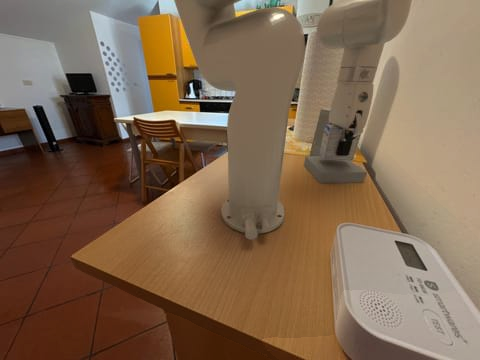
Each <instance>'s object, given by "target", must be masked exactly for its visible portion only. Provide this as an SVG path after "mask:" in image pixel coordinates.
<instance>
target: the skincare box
mask: <svg viewBox="0 0 480 360" xmlns="http://www.w3.org/2000/svg"><path fill="white" fill-rule="evenodd" d="M330 109H331V107H329V108H325V107H322V108H321V109H320V111H319V115H318V116H319V117H318V118H317V119H318V120H317V124H316V127H315V131H314V134H313V139H312V142H311V147H310V150H309V156H320V148H321V144H322V139H323V134H324V129H325V125H329V121H328V119H329V114H330Z"/></svg>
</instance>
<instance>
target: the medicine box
mask: <svg viewBox="0 0 480 360" xmlns="http://www.w3.org/2000/svg"><path fill="white" fill-rule="evenodd" d="M349 128H352V126H349ZM349 132H351V131H347V134H348V133H349ZM361 135H362V133H361V134H360V135H358V136H357V137H356V138H355V140H354V141H353V142H352V145H351V149H350V152H349V155H348V156H337V155H336V152H337V148H338V144H339V140H341V138H342V128H340V127H338V126H336V125H325V129H324V134H323V139H322V144H321V148H320V156H321V157H322V159H323V160H350V161H351V162H353V161H354V159H355V156H356V151H357V148H358V146H359V141H360V140H361V139H360V138H361Z"/></svg>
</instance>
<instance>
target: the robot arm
mask: <svg viewBox="0 0 480 360" xmlns="http://www.w3.org/2000/svg"><path fill="white" fill-rule="evenodd" d="M173 1H174V3H175V4H174V5H175V7H176V10H177V13H178V16H179V19H180V21H181V25H182V27H183V31H184V33H185V35H186V39H187V41H188V45H189V47H190V50H191V53H192V57H193V58H194V61H195V64H196V66H197V69H198V70H199V72H200V74H201V75H202V78H203V79H204V80H205V81H206V82H207V83H208V84H209V85H210V86H211V87H213V88H215V89H217V90H219V91H220V90H221V91H225V92H234V96H233V98H232V100H231V101H232V102H231V103H230V108H229V111H228V116H227V126H226V131H227V132H226V133H227V134H226V135H227V171H228V172H227V176H228V177H227V178H228V181H227V182H228V198H226V199H225V200H224V201H223V203H222V204H221V209H220V211H221V212H220V213H221V218H222V219H223V222H224V223H225V224H226V225H227V226H228V227H229V228H231V229H233V230H236V231H237V232H240V233H244V234H245V235H244V236H245V238H246V239H248V240H255V239H256V238H258V235H259V234H265V233H270V232H271V231H274V230H275V229H277V228H278V227H280V225H282V223H283V222H284V220H285V213H286V212H285V208H284V206H283V204H282V202H280V200H279V196H280V195H279V194H280V187H281V180H282V170H283V162H284V155H285V147H286V146H285V145H286V141H287V140H286V139H287V138H286V137H287V131H288V130H287V129H288V122H289V116H290V112H291V111H290V110H291V106H292V105H291V104H292V101H293V97H294V93H295V90H296V87H297V86H296V85H297V83H298V79H299V76H300V75H301V74H300V73H301V70H302V65H303V62H304V57H305V50H306V39H305V33H304V29H303V27H302V25H301V22H300V20H299V19H298V18H297V17H296V16H295V14H293V13H292V12H290V11H289V10H286V9H284V8H279V7H264V8H258V9H255V10H252V11H249V12H247V13H246V12H245V13H244V14H241V15H238V16H237V15H236V9H235V4H237V3H238V2H241V1H242V0H173ZM412 1H413V0H340V1H337V2H334V3H332V4H330V5H329V6H328V7H326V9H324V10H323V12H322V14H321V15H320V17H319V19H318V22H317V27H316V34H317V39H318V42H319V43H320V45H321V46H323V47H324V48H326V49H329V50H338V49H339V50H341V49H343V53H342V57H341V62H340V65H339V71H338V76H337V80H336V84H337V85H336V89H335V91H334V95H333V98H332V102H331V106H330V108H331V109H330V114H329V119H328V121H329V125H336V126H338V127H340V128H342V138H341V140H339V144H338V148H337V152H336V155H337V156H348V155H349V152H350V149H351V145H352V142H353V141H354V140H355V138H356V137H357V136H358V135H360V134H361V135H362V134H363V133H364V129H365V127H366V126H367V123H368V122H367V121H368V118H369V114H370V110H371V106H372V102H373V101H372V100H373V96H374V95H373V94H374V87H375V85H374V81H375V77H376V75H377V71H378V67H379V64H380V60H381V57H382V54H383V50H384V47H385V44H386V43H388V42H390V41H392V40H394V39H395V38H396V37H398V35H399V34H400V32H401V31H402V30H403V28H404V27H405V25H406V22H407V20H408V18H409V14H410V10H411V6H412ZM349 126H352V128H349ZM347 131H351V132H349V133H348V134H347Z"/></svg>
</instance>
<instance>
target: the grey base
mask: <svg viewBox="0 0 480 360" xmlns="http://www.w3.org/2000/svg"><path fill="white" fill-rule="evenodd" d="M303 166H304V167H305V168H306V169H307V171H308V172H310V174H311V175H312V176H313V177H314V178H315V180H316V181H317V182H318V183H319V184H341V183H343V184H348V183H349V184H350V183H352V184H354V183H355V184H356V183H365V180H366V177H367V175H368V171H366V169H363V168H362V167H360V166H359V165H357V164H356V163H355V162H353V161H350V160H323V159H322V157H321V156H312V155H306V156H305V157H304V163H303Z"/></svg>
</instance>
